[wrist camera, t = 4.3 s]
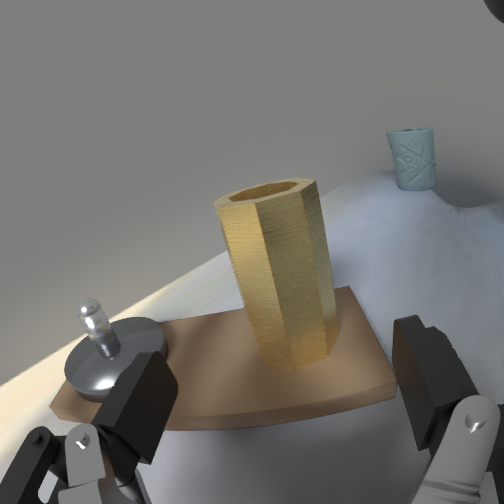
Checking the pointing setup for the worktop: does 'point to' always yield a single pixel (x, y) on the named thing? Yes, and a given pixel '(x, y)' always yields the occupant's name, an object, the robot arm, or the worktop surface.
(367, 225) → the worktop surface
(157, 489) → the worktop surface
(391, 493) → the worktop surface
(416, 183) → the pale green pot
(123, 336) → the disc
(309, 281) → the brass sleeve
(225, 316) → the walnut board
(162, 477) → the worktop surface
